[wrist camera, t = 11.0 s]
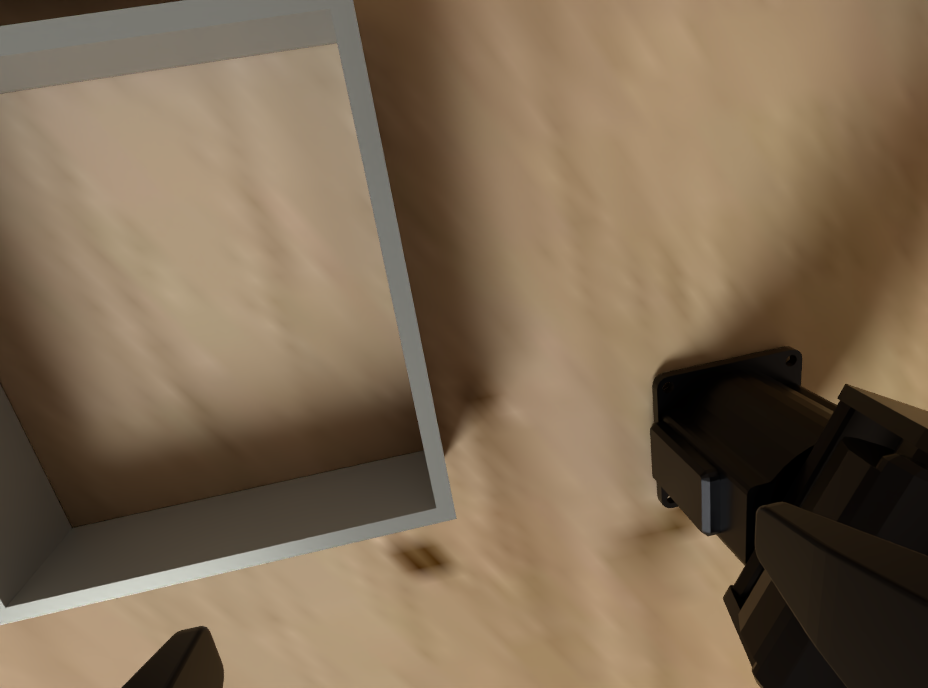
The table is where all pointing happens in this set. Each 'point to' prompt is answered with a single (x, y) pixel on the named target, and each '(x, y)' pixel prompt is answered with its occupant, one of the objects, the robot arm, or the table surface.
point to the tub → (244, 512)
